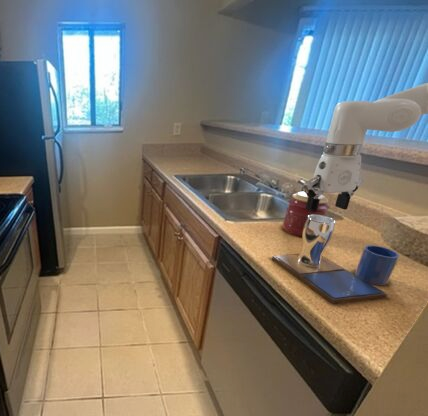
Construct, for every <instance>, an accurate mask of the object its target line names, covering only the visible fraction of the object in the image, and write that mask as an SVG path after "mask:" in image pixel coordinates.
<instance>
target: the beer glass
mask: <svg viewBox="0 0 428 416" xmlns="http://www.w3.org/2000/svg"><path fill="white" fill-rule="evenodd" d="M335 225H336V220H335V219H334V218H332V217H329V216H328V215H327V216H323V215H309V216H308V218H307V220H306V223H305V226H304V229H303V235H302V237H301V249H300V252H299V253H298V254H299V256H298V258H297V260H298V262H299V263H301V264H303V265H305V266H309V267H320V266H321V257H322V256H323V254H324V252H325V251H326V248H327V247H328V245H329V243H330V241H331V240H332V237H333V234H334V230H335Z"/></svg>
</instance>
